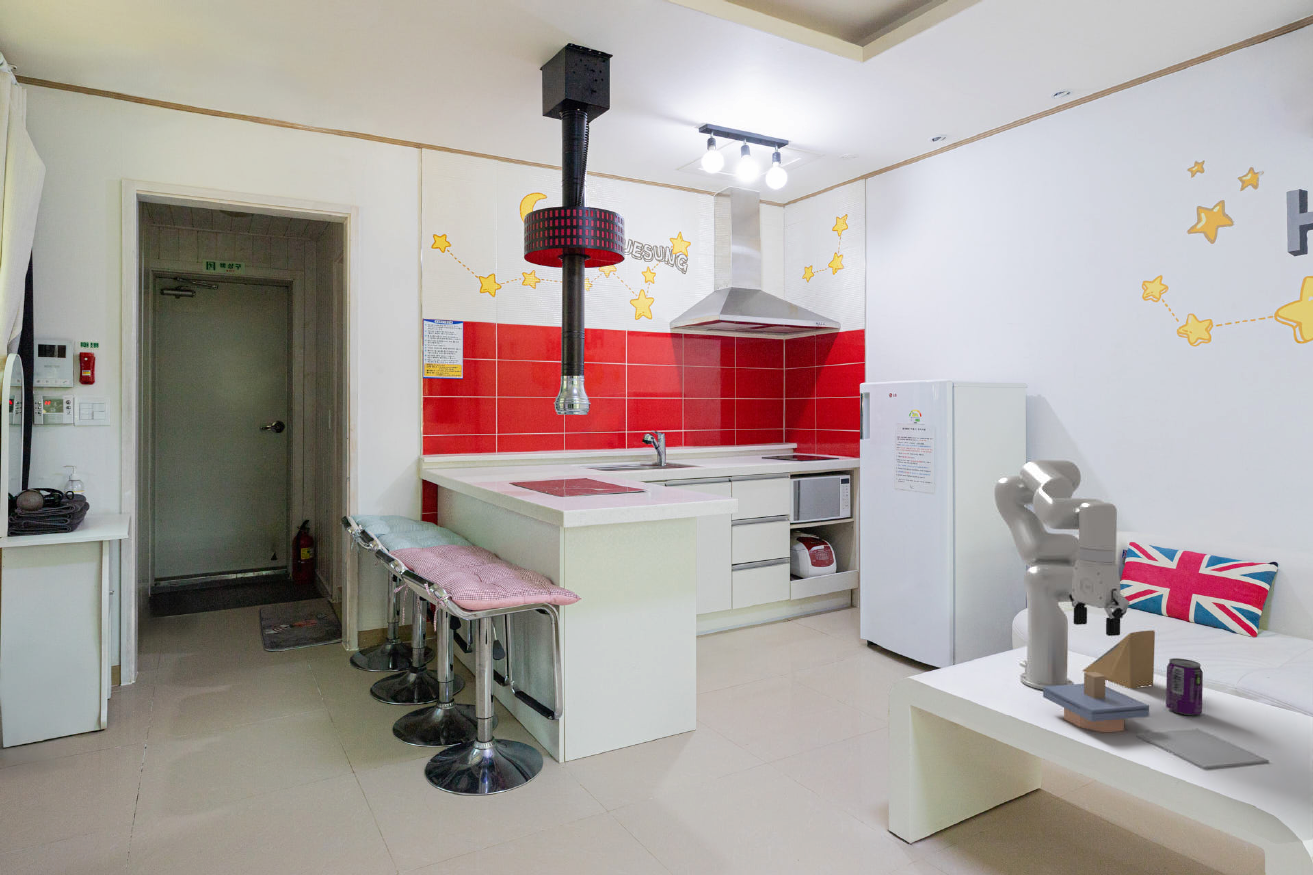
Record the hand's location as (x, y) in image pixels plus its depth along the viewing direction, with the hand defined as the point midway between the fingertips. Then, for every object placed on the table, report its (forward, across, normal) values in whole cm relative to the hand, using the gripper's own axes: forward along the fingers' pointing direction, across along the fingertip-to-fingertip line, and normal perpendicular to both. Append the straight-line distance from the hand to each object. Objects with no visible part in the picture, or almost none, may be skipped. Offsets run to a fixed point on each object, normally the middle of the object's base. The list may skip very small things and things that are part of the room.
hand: (1096, 629), depth 173 cm
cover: (+18, 0, 0) cm, 18 cm away
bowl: (+22, 0, 0) cm, 22 cm away
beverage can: (+22, -1, +26) cm, 34 cm away
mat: (+22, +17, +11) cm, 29 cm away
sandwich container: (+22, -25, +30) cm, 44 cm away
